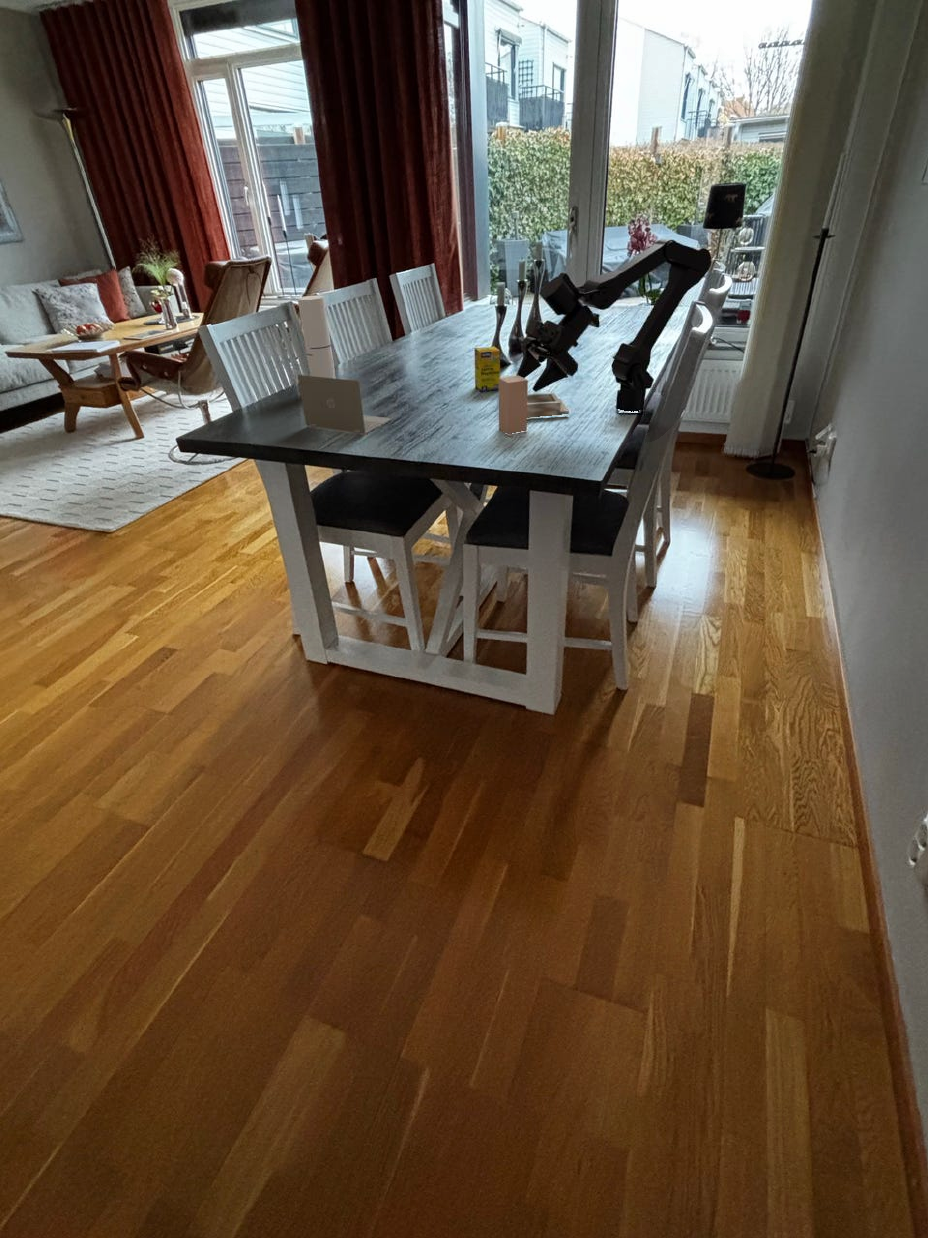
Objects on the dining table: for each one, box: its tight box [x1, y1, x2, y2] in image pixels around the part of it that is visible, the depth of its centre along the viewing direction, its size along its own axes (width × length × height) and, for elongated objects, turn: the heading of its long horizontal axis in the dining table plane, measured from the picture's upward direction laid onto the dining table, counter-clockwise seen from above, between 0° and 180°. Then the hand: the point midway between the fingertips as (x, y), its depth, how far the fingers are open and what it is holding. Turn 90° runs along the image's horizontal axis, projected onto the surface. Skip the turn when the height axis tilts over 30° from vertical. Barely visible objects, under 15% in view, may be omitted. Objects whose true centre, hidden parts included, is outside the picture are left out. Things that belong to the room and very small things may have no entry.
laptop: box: [297, 374, 393, 436], centre depth 159 cm, size 18×12×13 cm
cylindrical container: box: [297, 295, 337, 379], centre depth 182 cm, size 7×7×25 cm
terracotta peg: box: [498, 374, 529, 435], centre depth 150 cm, size 5×5×12 cm
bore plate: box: [527, 392, 570, 418], centre depth 163 cm, size 13×11×4 cm
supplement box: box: [474, 345, 501, 393], centre depth 181 cm, size 6×6×11 cm
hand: (524, 385), depth 148 cm, fingers open, 9 cm apart
